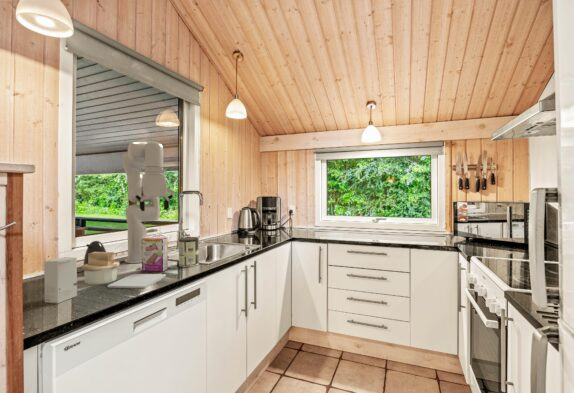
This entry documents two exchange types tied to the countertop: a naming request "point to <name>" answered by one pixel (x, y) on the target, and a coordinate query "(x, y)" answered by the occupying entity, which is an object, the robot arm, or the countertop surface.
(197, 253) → the coffee can
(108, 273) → the bowl
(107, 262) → the lid
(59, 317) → the countertop surface
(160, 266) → the candy bar box
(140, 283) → the mat
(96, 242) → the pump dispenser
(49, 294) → the skincare box
